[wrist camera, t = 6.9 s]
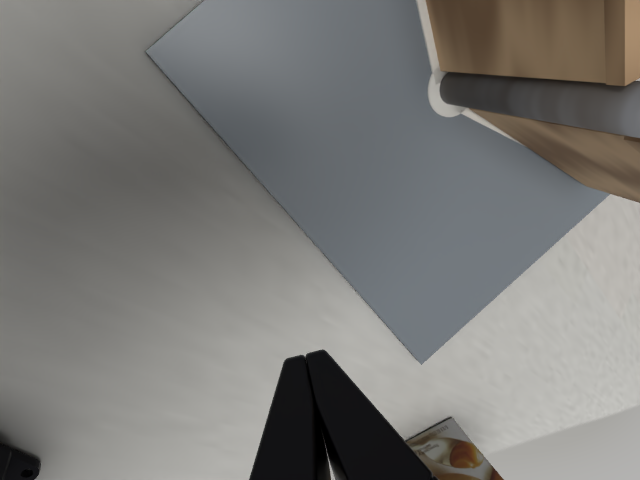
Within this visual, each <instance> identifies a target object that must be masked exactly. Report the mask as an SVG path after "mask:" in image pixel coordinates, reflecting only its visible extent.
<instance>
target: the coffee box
mask: <svg viewBox="0 0 640 480" xmlns="http://www.w3.org/2000/svg"><path fill="white" fill-rule="evenodd" d="M406 443H407V444H408V445H409V446H410V447H411V449H412V450H413V451H414V452H415V453H416V454H417V455H418V457H419V458H420V459H421V460H422V461H423V462H424V463H425V465H426V466H427V467H428V468H429V469H430V470H431V471H432V473H433V476H436V477H437V478H438V479H439V480H503V478H502V477H501V476H500V475H499V474H498V472H497V471H496V470H495V469H494V468H493V466H492V465H491V464H490V463H489V462H488V460H487V459H486V458H485V457H484V456H483V454H482V453H481V452H480V451H479V450H478V449H477V447H476V446H475V445H474V444H473V443H472V441H471V440H470V439H469V438H468V436H467V435H466V434H465V433H464V432H463V430H462V429H461V428H460V427H459V425H458V424H457V423H456V421H455V420H454V418H450V419H448V420H446V421H444V422H442V423H441V424H439V425H437V426H435V427H433V428H431V429H429V430H427V431H425V432H423V433H421V434H420V435H418V436H416V437H414V438H412V439H410V440H409V441H407V442H406Z"/></svg>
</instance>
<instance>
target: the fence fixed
mask: <svg viewBox="0 0 640 480" xmlns="http://www.w3.org/2000/svg"><path fill="white" fill-rule="evenodd" d="M426 5H427V10H428V14H429V19H430V24H431V28H432V33H433V38H434V42H435V47H436V52H437V57H438V61H439V66H440V71H446V72H448V73H447V74H446V75H445V76H444V77H443V79H442V81H441V83H440V89H439V91H440V96H441V99H442V100H443V101H444V102H445V103H446V104H450V105H455V106H461V107H467V108H472V109H478V110H484V111H489V112H495V113H500V114H506V115H512V116H517V117H523V118H529V119H534V120H540V121H546V122H551V123H557V124H563V125H568V126H574V127H579V128H585V129H591V130H596V131H602V132H608V133H613V134H619V135H625V136H630V137H636V138H640V81H635V80H637V79H639V78H640V0H426Z"/></svg>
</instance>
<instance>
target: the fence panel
mask: <svg viewBox="0 0 640 480" xmlns="http://www.w3.org/2000/svg"><path fill="white" fill-rule="evenodd" d="M469 109H470V110H472V111H473V112H475V113H476V114H478V115H479V116H481V117H482V118H484V119H485V120H487V121H488V122H490V123H491V124H493V125H494V126H496V127H497V128H499V129H500V130H502V131H503V132H505V133H506V134H508V135H509V136H511V137H513V138H514V139H516V140H517V141H519V142H520V143H522V144H523V145H525V146H526V147H528V148H529V149H531V150H532V151H534V152H535V153H537V154H538V155H540V156H541V157H543V158H544V159H546V160H547V161H549V162H550V163H552V164H553V165H555V166H556V167H558V168H559V169H561V170H562V171H564V172H565V173H567V174H568V175H570V176H572V177H573V178H575V179H576V180H578V181H579V182H581V183H582V184H584V185H585V186H587V187H590V188H593V189H597V190H600V191H603V192H606V193H610V194H613V195H616V196H619V197H623V198H626V199H629V200H633V201H636V202H639V203H640V138H636V137H630V136H625V135H619V134H613V133H608V132H602V131H596V130H591V129H585V128H579V127H574V126H568V125H563V124H557V123H551V122H546V121H540V120H534V119H529V118H523V117H517V116H512V115H506V114H500V113H495V112H489V111H484V110H478V109H472V108H469Z"/></svg>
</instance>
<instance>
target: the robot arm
mask: <svg viewBox="0 0 640 480" xmlns="http://www.w3.org/2000/svg"><path fill="white" fill-rule="evenodd" d="M306 362H307V363H306ZM324 441H325V442H324ZM325 445H326V446H325ZM326 449H327V451H326ZM327 453H328V456H327ZM328 457H329V461H330V464H331V467H332V471H333V474H334V477H335V479H336V480H439V479H438V478H437V477H436V476H433V473H432V471H431V470H430V469H429V468H428V467H427V466H426V465H425V463H424V462H423V461H422V460H421V459H420V458H419V457H418V455H417V454H416V453H415V452H414V451H413V450H412V449H411V447H410V446H409V445H408V444H407V443H406V442H405V441H404V439H403V438H402V437H401V436H400V435H399V434H398V433H397V431H396V430H395V429H394V428H393V427H392V426H391V425H390V423H389V422H388V421H387V420H386V419H385V418H384V417H383V415H382V414H381V413H380V412H379V411H378V410H377V409H376V407H375V406H374V405H373V404H372V403H371V402H370V401H369V399H368V398H367V397H366V396H365V395H364V394H363V393H362V391H361V390H360V389H359V388H358V387H357V386H356V385H355V383H354V382H353V381H352V380H351V379H350V378H349V377H348V375H347V374H346V373H345V372H344V371H343V370H342V369H341V367H340V366H339V365H338V364H337V363H336V362H335V361H334V359H333V358H332V357H331V356H330V355H329V354H328V353H327V352H326V351H325V350H319V351H315V352H311V353H307V354H306V358H305V356H304V355H299V356H295V357H291V358H287V359H286V360H285V361H284V363H283V367H282V370H281V373H280V377H279V380H278V384H277V387H276V390H275V394H274V397H273V401H272V404H271V407H270V411H269V414H268V418H267V421H266V424H265V428H264V431H263V435H262V438H261V441H260V445H259V448H258V452H257V455H256V458H255V462H254V465H253V468H252V472H251V475H250V479H249V480H331V476H330V468H329V461H328ZM40 468H41V463H40V461H39V460H37V459H35V458H33V457H30V456H28V455H26V454H23V453H21V452H19V451H16V450H14V449H12V448H9V447H7V446H5V445H2V444H0V480H34V479H35V478H36V477H37V476H38V475H39V472H40ZM26 469H30V470H28V471H27V470H26Z"/></svg>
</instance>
